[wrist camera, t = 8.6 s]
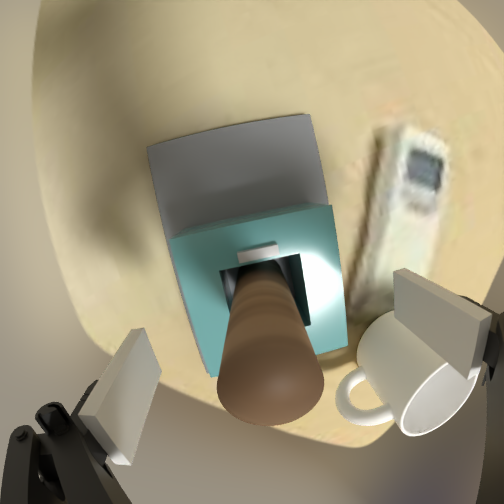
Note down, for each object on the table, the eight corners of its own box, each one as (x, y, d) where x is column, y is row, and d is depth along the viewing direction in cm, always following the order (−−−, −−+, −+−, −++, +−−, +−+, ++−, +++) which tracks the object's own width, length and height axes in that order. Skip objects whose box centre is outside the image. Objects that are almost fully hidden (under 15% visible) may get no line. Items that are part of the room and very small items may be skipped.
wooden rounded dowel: (232, 260, 22) (203, 355, 8) (278, 250, 22) (318, 334, 8) (242, 303, 23) (231, 431, 9) (286, 294, 23) (327, 414, 9)
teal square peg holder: (182, 229, 21) (167, 241, 16) (310, 202, 22) (334, 205, 16) (214, 343, 23) (210, 381, 18) (327, 317, 24) (350, 349, 18)
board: (150, 149, 21) (146, 147, 20) (306, 116, 21) (309, 113, 20) (207, 367, 25) (206, 373, 24) (341, 336, 25) (345, 341, 24)
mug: (330, 400, 27) (362, 469, 17) (310, 345, 25) (347, 418, 15) (422, 352, 27) (473, 401, 17) (415, 293, 25) (482, 335, 15)
